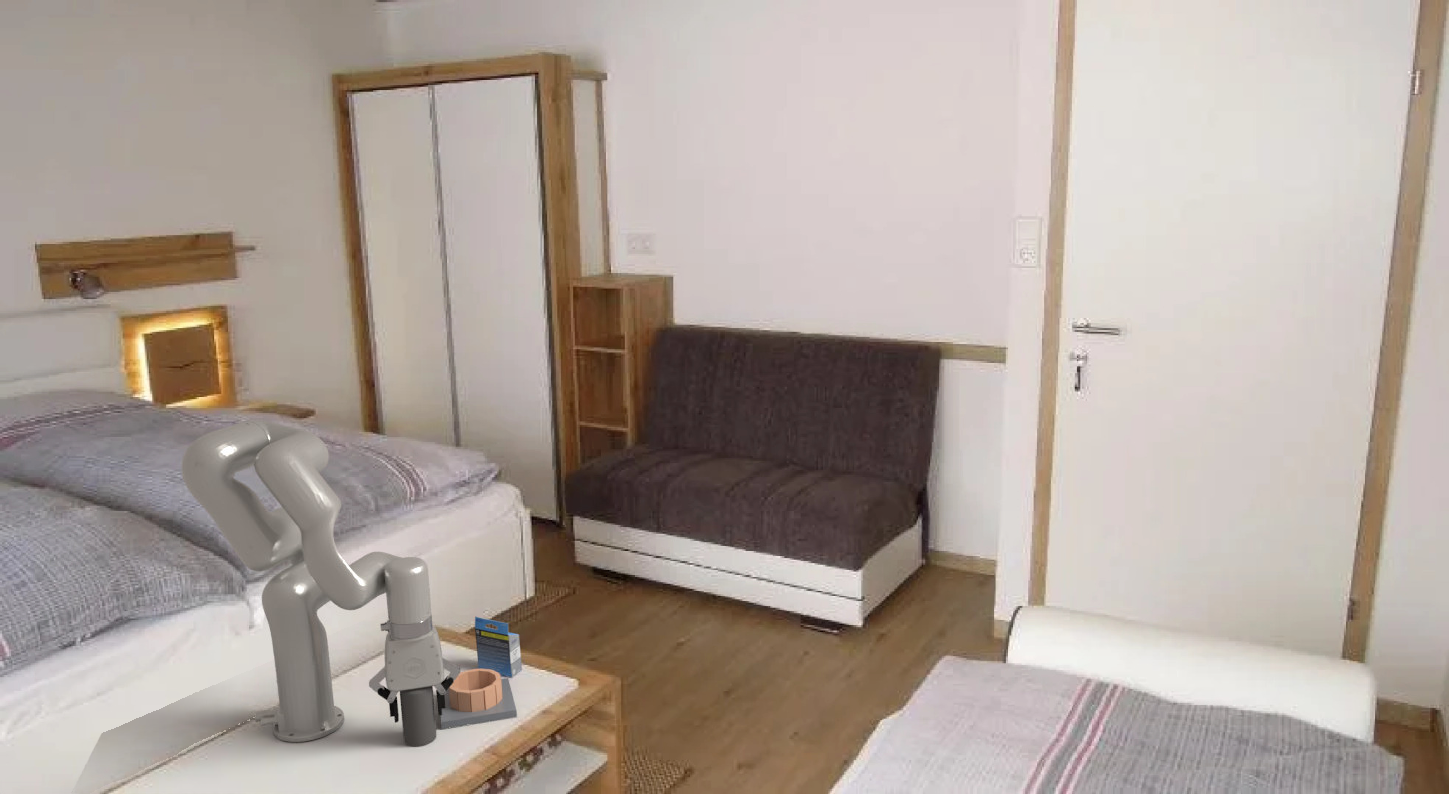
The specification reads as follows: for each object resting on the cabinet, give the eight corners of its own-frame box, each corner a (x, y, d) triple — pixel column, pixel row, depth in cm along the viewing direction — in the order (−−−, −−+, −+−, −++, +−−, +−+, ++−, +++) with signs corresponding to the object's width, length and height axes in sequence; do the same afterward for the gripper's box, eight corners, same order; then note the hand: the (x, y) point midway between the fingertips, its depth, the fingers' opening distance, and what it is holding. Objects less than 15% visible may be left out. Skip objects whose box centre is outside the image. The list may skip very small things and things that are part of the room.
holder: (441, 729, 198) (439, 702, 197) (438, 695, 211) (436, 670, 210) (516, 717, 202) (515, 690, 201) (508, 684, 215) (506, 659, 214)
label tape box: (522, 670, 221) (519, 616, 219) (511, 679, 218) (507, 623, 215) (488, 663, 225) (485, 609, 223) (476, 671, 222) (473, 616, 219)
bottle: (441, 731, 198) (435, 657, 194) (429, 747, 192) (423, 671, 189) (411, 730, 198) (404, 656, 195) (398, 746, 192) (392, 670, 189)
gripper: (360, 641, 184) (368, 733, 188) (461, 627, 189) (468, 717, 193) (360, 624, 191) (369, 714, 195) (458, 611, 196) (465, 698, 200)
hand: (418, 714), depth 194 cm, fingers open, 7 cm apart
